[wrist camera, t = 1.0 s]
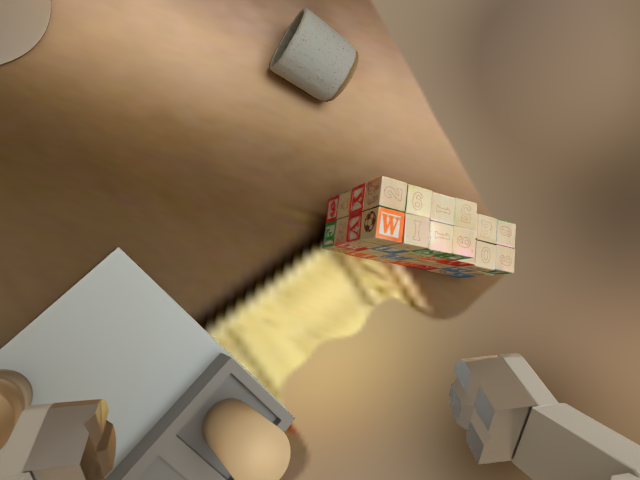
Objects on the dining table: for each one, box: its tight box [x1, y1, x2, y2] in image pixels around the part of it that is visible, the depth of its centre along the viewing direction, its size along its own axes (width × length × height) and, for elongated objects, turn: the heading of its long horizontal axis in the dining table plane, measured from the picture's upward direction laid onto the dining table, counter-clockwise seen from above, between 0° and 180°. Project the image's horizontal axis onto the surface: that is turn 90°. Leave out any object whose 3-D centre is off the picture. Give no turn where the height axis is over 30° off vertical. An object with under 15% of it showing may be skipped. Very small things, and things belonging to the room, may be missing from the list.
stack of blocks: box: [323, 176, 516, 278], centre depth 54 cm, size 21×6×12 cm, turn 82°
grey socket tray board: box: [0, 247, 295, 480], centre depth 38 cm, size 24×19×14 cm
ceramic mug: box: [270, 8, 358, 102], centre depth 53 cm, size 11×8×8 cm
